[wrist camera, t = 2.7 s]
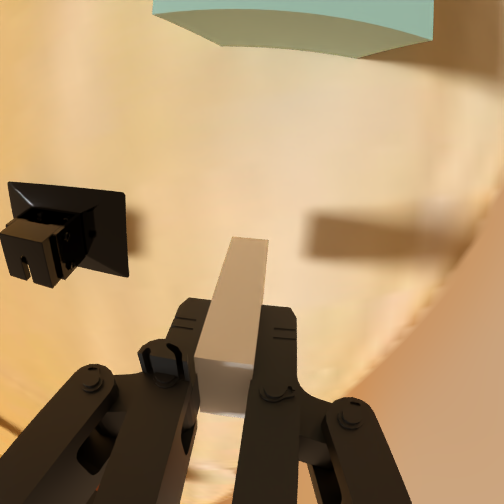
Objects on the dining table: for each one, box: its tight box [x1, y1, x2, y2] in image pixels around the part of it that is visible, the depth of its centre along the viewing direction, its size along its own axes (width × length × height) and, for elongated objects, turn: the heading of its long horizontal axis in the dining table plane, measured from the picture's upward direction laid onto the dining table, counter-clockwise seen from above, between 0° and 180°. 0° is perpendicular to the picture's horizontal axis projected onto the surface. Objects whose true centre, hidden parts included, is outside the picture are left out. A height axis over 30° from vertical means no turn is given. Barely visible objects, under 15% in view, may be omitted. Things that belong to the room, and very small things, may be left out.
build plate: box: [0, 182, 129, 289], centre depth 16 cm, size 12×7×5 cm, turn 82°
